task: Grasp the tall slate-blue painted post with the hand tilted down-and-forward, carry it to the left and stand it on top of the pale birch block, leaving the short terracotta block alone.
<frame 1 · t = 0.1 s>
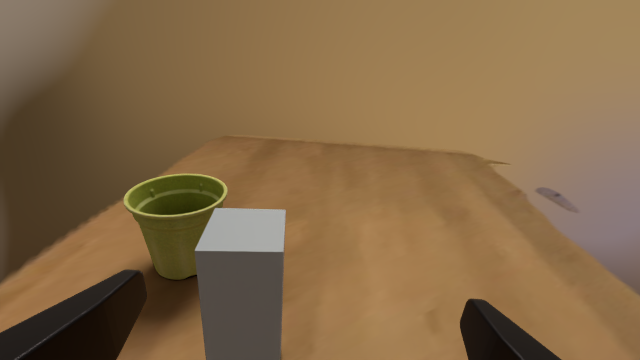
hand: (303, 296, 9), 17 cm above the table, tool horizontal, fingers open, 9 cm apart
plant pot: (187, 263, 34), on the table
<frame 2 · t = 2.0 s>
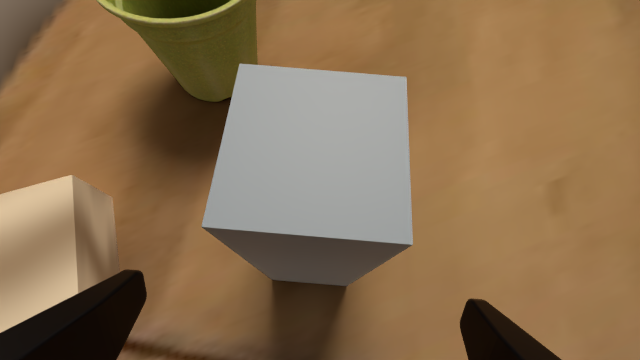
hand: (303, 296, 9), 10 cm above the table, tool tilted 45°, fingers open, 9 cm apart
plant pot: (221, 73, 25), on the table
slate post: (312, 245, 19), on the table
birch base: (51, 278, 18), on the table
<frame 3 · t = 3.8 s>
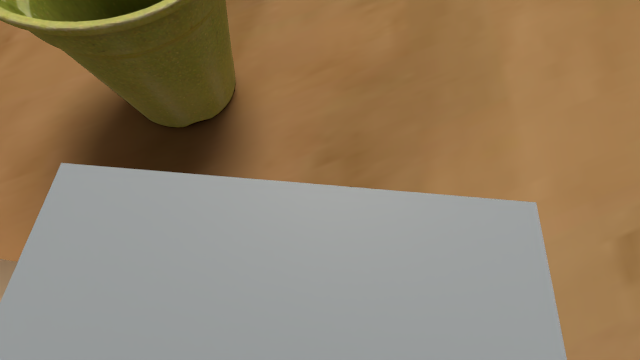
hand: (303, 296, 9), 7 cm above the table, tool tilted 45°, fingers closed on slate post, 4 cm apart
plant pot: (189, 89, 19), on the table
slate post: (303, 332, 14), on the table, touching gripper
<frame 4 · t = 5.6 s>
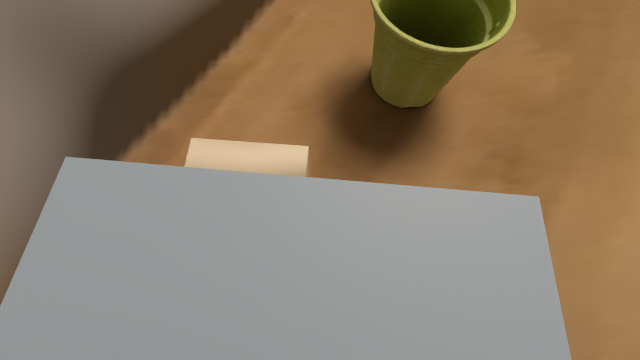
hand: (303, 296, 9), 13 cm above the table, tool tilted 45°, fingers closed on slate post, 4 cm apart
plant pot: (404, 82, 28), on the table
slate post: (304, 331, 14), point 7 cm above the table, touching gripper
birch base: (252, 213, 23), on the table
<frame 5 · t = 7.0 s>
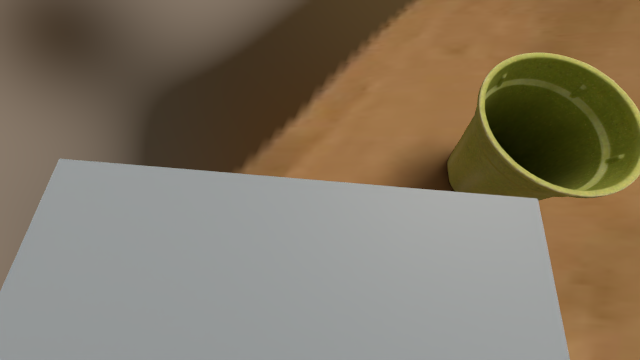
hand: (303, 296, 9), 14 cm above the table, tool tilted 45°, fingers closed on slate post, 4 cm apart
plant pot: (482, 177, 25), on the table
slate post: (304, 331, 14), point 7 cm above the table, touching gripper
when the fingers open (12 cm above the table, at t = 7.8 s): slate post drops 1 cm, point 4 cm above the table.
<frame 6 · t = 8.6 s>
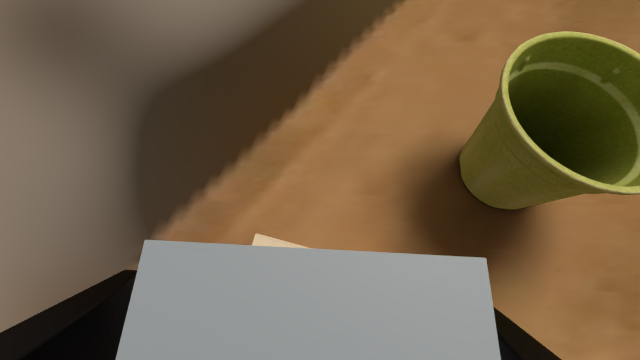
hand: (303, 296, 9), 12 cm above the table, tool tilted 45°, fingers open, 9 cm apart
plant pot: (497, 173, 23), on the table
slate post: (303, 331, 15), point 4 cm above the table
birch base: (305, 324, 19), on the table
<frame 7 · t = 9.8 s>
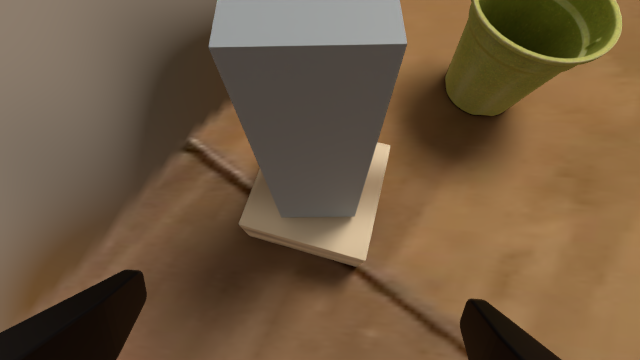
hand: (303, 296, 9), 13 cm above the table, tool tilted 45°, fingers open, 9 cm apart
plant pot: (477, 90, 28), on the table
slate post: (317, 183, 20), point 4 cm above the table, touching birch base
birch base: (317, 201, 24), on the table, touching slate post
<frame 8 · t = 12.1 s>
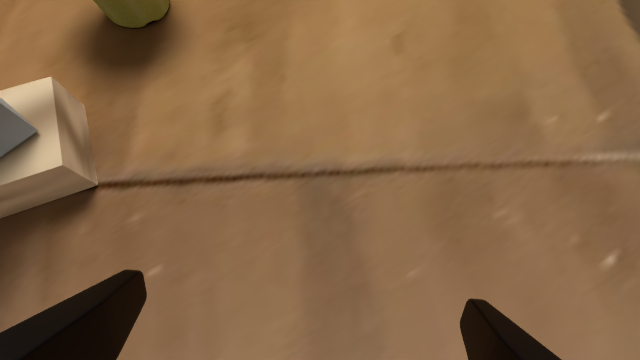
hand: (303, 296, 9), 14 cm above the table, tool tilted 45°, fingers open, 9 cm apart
plant pot: (141, 9, 31), on the table
birch base: (42, 161, 25), on the table
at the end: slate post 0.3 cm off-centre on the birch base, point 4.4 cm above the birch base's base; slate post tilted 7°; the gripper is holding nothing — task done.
